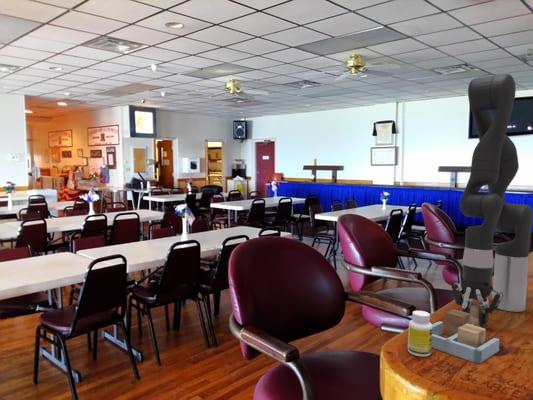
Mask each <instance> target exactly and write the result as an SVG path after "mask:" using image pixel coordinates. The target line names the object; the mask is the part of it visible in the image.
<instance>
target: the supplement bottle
mask: <svg viewBox="0 0 533 400" xmlns="http://www.w3.org/2000/svg"><path fill="white" fill-rule="evenodd" d="M411 316H412V319H411V320H409V323H408V334H407V335H408V336H407V337H408V338H407V351H408V352H409V353H410V354H411V355H413V356H416V357H421V358H422V357H423V358H424V357H425V358H426V357H429V356H430V355H431V354H432V347H431V346H432V329H433V328H432V324H433V323H431V322H430V319H431V313H429V312H427V311H425V310H413V311H412V315H411Z"/></svg>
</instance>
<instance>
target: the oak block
mask: <svg viewBox="0 0 533 400" xmlns="http://www.w3.org/2000/svg"><path fill="white" fill-rule="evenodd" d="M486 331H487V329H486V328H484V327H482V326H481V327H477V326H474V325H470V324H465V325H463V326H461V327H459V328H458V337H457V342H459V343H462V344H465V345H468V346H471V347H474V348H478V347H480V346H481V345H483V344H485V343H486Z"/></svg>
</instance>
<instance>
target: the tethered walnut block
mask: <svg viewBox="0 0 533 400" xmlns="http://www.w3.org/2000/svg"><path fill="white" fill-rule="evenodd" d="M469 308H470V314H469V313H465V312H463V310H457V309H454V308H453V309H451V310H448V311H447V312H446V313H445V329H444V334H445V335H447V336H449V337H451V336H453V335H455V334H457V333H458V328H459V327H461V326H463V325H465V324H470V325H474V326H477V327H481V328H482V326H480V314H481V313H482V312H481V308H480V305H479V303H473V302H471V304H470V307H469Z"/></svg>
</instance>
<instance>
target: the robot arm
mask: <svg viewBox="0 0 533 400" xmlns="http://www.w3.org/2000/svg"><path fill="white" fill-rule="evenodd" d="M467 88H468V89H467V96H468V102H469V103H468V104H469V106H470V110H471V113H472V118H473V120H474V124H475V128H476V132H477V136H478V143H477V145H476V146H475V147H474V150H473V152H472V153H473V154H472V156H471V165H470V173H469V179H468V180H467V183H466V186H465V189H464V191H463V193H462V195H461V199H460V200H459V209H460V212H461V213H462V215H464V216H465V217H469V218H479V219H483V222H482V224H481V225H472V226H468V227H467V228H466V229H465V236H464V237H465V238H464V239H465V240H464V251H463V258H462V275H461V277H462V281H461V282H460V283H458V282H455V283H453V284H452V285H451V289H452V290H451V291H452V293H453V297H454V301H455V304H456V305H457V306H459V307H462V312H465V313H469V314H470V304H472V301H473V300H476V301H478V303H477V304H479V305H480V308H481V312H482V313H481V314H480V326H481V327H485V326H486V325H488V323H489V314H493V313H495V312H497V310H498V309H499V310H502V311H506V312H515V313H517V312H519V313H520V312H524V311H526V305H527V304H526V302H527V290H528V289H527V287H528V270H529V268H528V267H529V256H530V254H529V253H530V248H531V239H532V238H531V237H532V230H533V209H532V207H531V206H530V205H528V204H519V203H507V202H506V200H505V194H506V191H507V189H508V187H509V186H510V184H511V183H512V182H513V180H514V179H515V177H516V175H517V173H518V172H519V168H520V166H519V157H518V150H517V146H516V145H515V143H514V142H513V140H512V139H511V138H510V137H509V136H508V135H507V131H508V126H509V123H510V118H511V117H512V111H513V108H514V103H515V97H516V89H517V88H516V82H515V79H514V77H513V76H512V74H510V73H503V74H495V75H494V74H493V75H487V76H480V77H475V78H473V79H471V81H469V84H468V87H467ZM490 110H495V115H494V116H492V113H491V111H490ZM484 186H485V187H486V186H487V189H488V192H480V190H481V188H483V187H484ZM496 231H497V232H501V233H507V234H515V236H514V238H513V239H512V240H509V241H504V242H499V243H497V244H496V246H495V252H494V250H493V249H494V236H495V232H496ZM494 253H495V254H494ZM494 255H495V256H494ZM493 269H494V271H493ZM492 282H493V284H492ZM462 290H463V292H464V296H463V294H462V293H463V292H462ZM490 295H491V299H492V301H491V303H490V302H489V298H488V297H489V296H490ZM489 303H490V305H489Z"/></svg>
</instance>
